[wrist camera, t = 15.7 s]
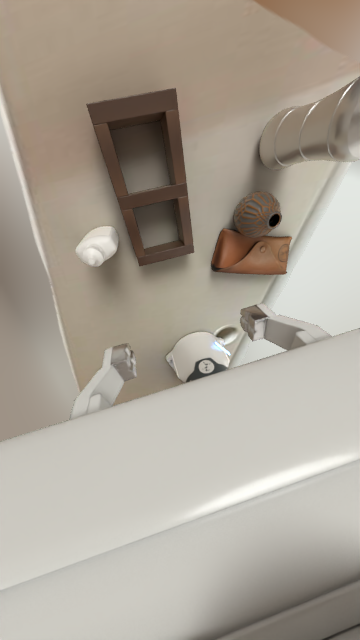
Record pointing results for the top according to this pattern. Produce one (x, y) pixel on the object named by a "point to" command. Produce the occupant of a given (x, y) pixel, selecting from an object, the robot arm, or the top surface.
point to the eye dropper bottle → (98, 246)
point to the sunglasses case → (250, 254)
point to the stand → (166, 110)
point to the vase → (257, 214)
